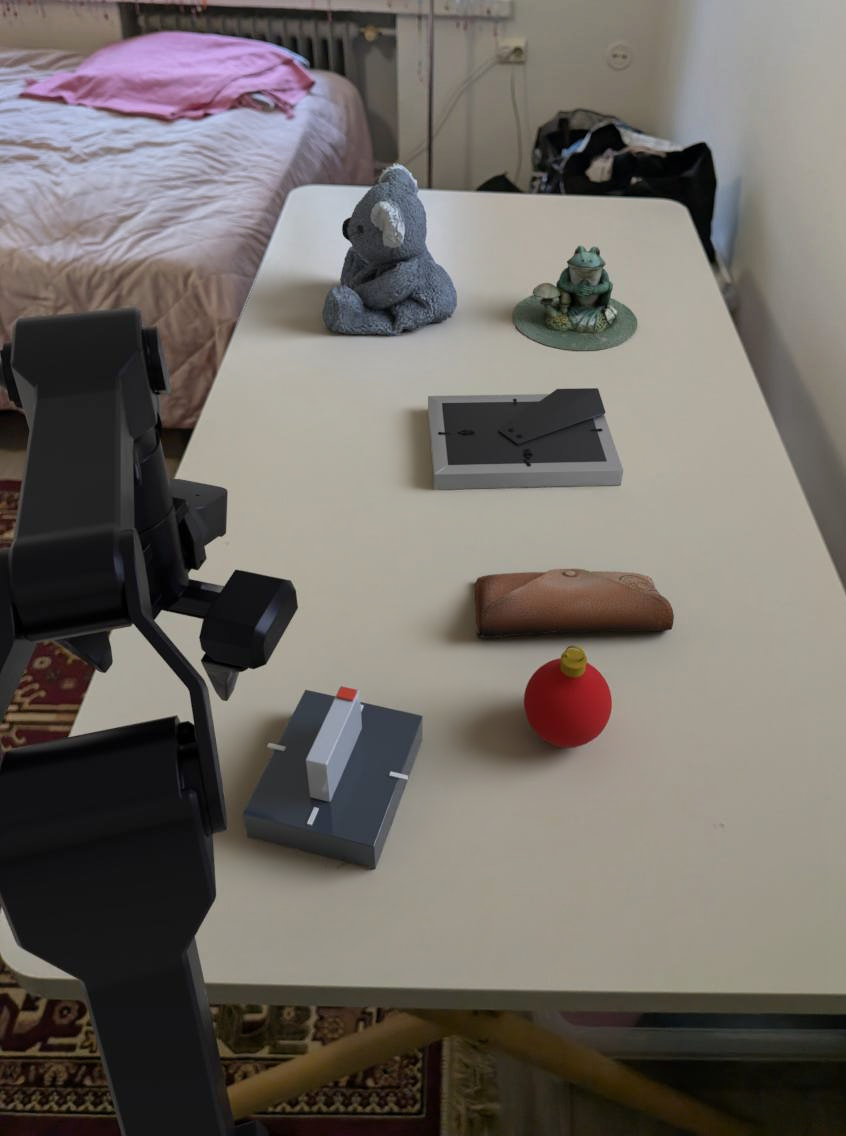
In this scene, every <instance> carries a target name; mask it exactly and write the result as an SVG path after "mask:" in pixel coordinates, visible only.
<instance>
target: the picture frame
mask: <svg viewBox="0 0 846 1136" xmlns="http://www.w3.org/2000/svg"><path fill="white" fill-rule="evenodd" d="M427 415H428V427H429V429H428V430H429V440H430V452H431V453H430V455H431V464H432V465H431V466H432V479H433V489H434V490H468V489H470V490H471V489H473V490H474V489H514V488H515V489H517V488H520V489H521V488H555V487H561V488H562V487H597V486H599V487H600V486H601V487H602V486H622V482H623V481H622V480H623V476H624V468H623V466H622V461H621V459H620V456H619V453H618V450H617V448H616V444H615V442H614V439H613V436H612V433H611V430H610V426H609V424H608V420H607V418H606V409H605V406H604V403H603V399H602V396H601V393H600V391H599V388H598V387H593V388H592V387H591V388H590V387H589V388H585V387H584V388H580V387H579V388H556V389H555V390H553V391H552V392H550V393H539V394H538V393H537V394H536V393H535V394H533V393H532V394H531V393H530V394H475V395H474V394H473V395H472V394H471V395H467V394H466V395H465V394H464V395H462V394H461V395H427Z"/></svg>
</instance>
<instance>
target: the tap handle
mask: <svg viewBox="0 0 846 1136" xmlns="http://www.w3.org/2000/svg"><path fill="white" fill-rule="evenodd" d="M335 696H336V697H335V699H334V701H333V703H332V705H331V707H330V709H329V711H328V714H327V716H326V718H325V720H324V722H323V724H322V726H321V728H320V731H319V733H318V735H317V737H316V739H315V741H314V743H313V745H312V747H311V750H310V752H309V754H308V756H307V758H306V767H307V775H308V783H309V791H310V797H311V798H315V799H319V800H323V801H327V802H330V801H331V799H332V797H333V795H334V792H335V790H336V788H337V785H338V783H339V781H340V778H341V776H342V774H343V771H344V769H345V767H346V764H347V762H348V760H349V757H350V755H351V753H352V750H353V748H354V746H355V743H356V741H357V739H358V736H359V734H360V732H361V729H362V720H361V703H360V702H361V691H360V690H358V689H355V688H350V687H346V686H340V687H339V688H338V691H337V692H336V695H335Z"/></svg>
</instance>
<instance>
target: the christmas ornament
mask: <svg viewBox="0 0 846 1136" xmlns="http://www.w3.org/2000/svg"><path fill="white" fill-rule="evenodd" d="M610 689H611V688H610V686H609V684H608V681H606V678H605V677H604V676H603V675H602V673H601V672H600V670H598V669H597V668H596V667H595V666H593V665H592V664H590V663H589V662H588V657H587V656H586V653H585V650H584V649H583V648H582V647H580V646H578V645H576V644H575V645H574V644H572V645H568V646H567V647H566V649H565V651H563V652H562V653H561V655H560V658H559V657H558V658H556V659H553V660H550V661H548V662H546V663H544V664H543V665H541V666H540V667H539V668H538V669H536V670H535V671H534V673H533V674H532V675H531V676H530V678H529V679H528V682H527V685H526V686H525V690H524V695H523V709H524V713H525V717H526V719H527V721H528V724H529V725H530V727H531V728H532V730H533V731H534V733H536V735H538V737H540V738H541V739H542V740H543V741H545V742H547V743H549V744H550V745H554V746H557V747H561V748H576V747H581V746H583V745H586V744H588V743H590V742H592V741H593V740H595V739H596V738H597V737H598V736H600V734H601V733H602V732H604V730H605V728H606V726H607V725H608V723H609V720H610V717H611V714H612V708H613V701H612V700H613V699H612V692H611V690H610Z"/></svg>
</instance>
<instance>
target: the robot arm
mask: <svg viewBox="0 0 846 1136" xmlns="http://www.w3.org/2000/svg"><path fill="white" fill-rule="evenodd" d="M0 389H2V390H3V391H4V392H6V393H7V396H8V400H9V402H12V403H13V404H14V406H15V408H17V409H18V410H19V409H20V410H23V412H24V415H25V419H26V423H27V426H28V429H29V432H28V438H27V443H26V444H27V445H26V451H25V459H24V465H23V471H22V477H21V478H22V479H21V484H20V490H19V491H20V492H19V498H18V505H17V512H16V518H15V525H14V530H13V531H14V532H13V538H12V543H11V545H10V547H4V548H0V727H1V726H2V723H3V721H4V718H5V717H6V714H7V712H8V710H9V708H10V705H11V703H12V701H13V699H14V696H15V695H16V692H17V690H18V687H19V685H20V683H21V681H22V679H23V677H24V674H25V672H26V670H27V667H28V666H29V663H30V662H31V658H32V656H33V654H34V652H35V650H36V645H37V644H39V643H45V642H52V641H53V642H55V643H57V645H60V646H61V647H63V648H64V649H66V650H67V651H69V652H70V653H72V654H73V655H74V656H76V657H77V658H79V659H80V660H82V661H83V662H85V663H86V664H87V665H88V666H90V667H92V668H93V669H95V670H96V671H98V672H99V673H102V674H106V673H107V672H108V671H109V669H110V668H111V667H112V665H113V662H114V659H113V652H112V646H111V641H110V638H109V634H108V632H109V631H114V630H119V629H125V628H130V627H132V626H133V625H134V627H135V628H136V629H137V630H138V632H139V633H140V634H141V635H142V636H143V638H144V639H145V640H146V641H147V642H148V643H149V644H150V645H151V647H152V648H153V649H154V650H155V651H156V653H157V654H158V655H159V657H161V659H162V660H163V661H164V663H165V664H167V666H168V667H169V668H170V669H171V670H172V672H173V673H174V674H175V675H176V676H177V678H178V679H179V680H180V681H181V683H182V684H183V685H184V686H185V687H186V688H187V690H188V693H189V699H190V704H191V705H190V707H191V713H192V719H193V723H192V722H190V721H189V720H185V721H181V720H180V717H179V716H178V715H171V716H167V717H166V716H165V717H162V718H157V719H156V718H155V719H151V720H147V721H142V722H137V723H131V724H126V725H122V726H117V727H112V728H107V729H102V730H97V731H92V732H88V733H83V734H78V735H73V736H68V737H62V738H57V739H53V740H48V741H47V740H46V741H42V742H38V743H33V744H28V745H24V746H17V747H12V748H11V749H8V750H7V751H5V754H4V756H3V748H2V739H1V737H0V906H1V909H2V911H3V914H4V916H5V919H6V922H7V925H8V926H9V929H10V932H11V934H12V936H13V939H14V941H15V943H16V945H17V946H18V947H19V948H20V949H21V950H23V951H25V952H27V953H29V954H31V955H32V956H34V957H36V958H38V959H39V960H41V961H43V962H45V963H47V964H49V965H51V966H53V967H54V968H56V969H58V970H60V971H62V972H64V973H65V974H67V975H69V976H71V977H73V978H75V979H77V980H78V981H79V985H80V987H81V990H82V994H83V998H84V1001H85V1004H86V1009H87V1012H88V1016H89V1018H90V1019H89V1020H90V1023H91V1028H92V1030H93V1035H94V1038H95V1041H96V1042H95V1043H96V1045H97V1048H98V1052H99V1057H100V1061H101V1065H102V1068H103V1071H104V1074H105V1075H104V1076H105V1078H106V1082H107V1085H108V1089H109V1090H108V1091H109V1093H110V1097H111V1101H112V1104H113V1108H114V1111H115V1116H116V1119H117V1122H118V1126H119V1130H120V1134H121V1136H270V1132H269V1129H268V1128H267V1127H266V1126H265V1124H263V1123H262V1122H261V1121H260V1120H259V1119H254V1120H251V1121H249V1122H246V1123H241V1124H239V1125H235V1121H234V1115H233V1111H232V1107H231V1101H230V1097H229V1093H228V1087H227V1083H226V1078H225V1074H224V1068H223V1064H222V1059H221V1054H220V1049H219V1044H218V1041H217V1035H216V1030H215V1026H214V1021H213V1017H212V1012H211V1007H210V1002H209V997H208V993H207V987H206V982H205V977H204V973H203V968H202V964H201V959H200V955H199V951H198V950H199V949H198V944H197V939H196V935H197V933H198V931H199V929H200V927H202V924H203V922H204V920H205V919H206V917H207V916H208V913H209V912H210V911H211V908H212V906H213V904H214V903H215V901H216V898H217V882H216V881H217V880H216V866H215V848H214V835H216V834H220V833H224V832H228V816H227V807H226V798H225V791H224V783H223V777H222V771H221V764H220V758H219V751H218V744H217V738H216V731H215V724H214V718H213V712H212V705H211V698H210V691H209V687H208V685H207V683H206V680H205V679H204V678H203V676H202V675H201V674H200V673H199V672H198V670H197V669H196V668H195V667H194V665H192V663H191V662H190V661H189V660H188V658H187V657H185V655H184V654H183V653H182V651H181V650H180V649H179V648H178V647H177V646H176V644H175V643H174V642H173V641H172V640H171V639H170V638H169V636H168V635H167V634H166V632H165V631H164V630H163V629H162V628H161V627H160V625H158V623H157V622H156V621H155V620H156V619H157V618H158V616H159V615H160V613H161V612H162V611H164V612H168V613H173V614H178V615H182V616H187V617H191V618H197V619H201V620H202V624H201V628H200V631H199V636H198V639H199V643H200V648H201V650H202V652H204V655H203V656H202V657H201V659H200V663H201V665H202V667H203V669H204V671H205V674H206V675H207V677H208V679H209V682H210V683H211V685H212V687H213V690H214V692H215V693H216V695H217V696H218V697H219V699H220V700H221V701H222V702H223V701H224V702H228V701H229V700H230V698H231V696H232V694H233V692H234V690H235V687H236V684H237V681H238V677H239V675H240V673H243V672H246V671H247V670H248V669H251V670H256V669H259V668H261V667H263V666H266V665H267V664H268V662H269V660H270V659H271V657H272V655H273V653H274V651H275V650H276V648H277V646H278V645H279V643H280V640H281V639H282V637H283V636H284V634H285V632H286V630H287V628H289V627H288V626H289V625H290V624H291V621H292V620H293V618H294V616H295V614H296V613H297V611H298V609H299V605H298V604H299V603H298V597H297V589H296V588H295V586H294V583H293V582H292V580H290V579H285V578H281V577H277V576H271V575H266V574H262V573H256V572H252V571H246V570H241V569H234V571H233V572H232V574H231V575H230V577H229V579H227V581H226V583H225V584H224V585H222V584H215V583H212V582H207V581H201V580H197V579H191V578H190V576H189V573H190V572H191V571H192V570H193V571H199V570H200V569H201V568H202V566H203V565H204V563H205V562H206V560H207V559H208V558H207V552H206V546H207V545H209V544H210V543H211V542H213V541H214V540H216V539H217V538H223V537H224V536H225V535H226V534H227V521H228V495H229V494H228V493H229V491H228V489H226V488H225V487H222V486H219V485H214V484H209V483H208V484H207V483H202V482H198V481H192V480H187V479H181V478H169V475H168V469H167V464H166V459H165V455H164V450H163V445H162V440H161V438H162V436H163V418H162V406H161V405H162V404H161V396H163V395H171V394H172V391H171V382H170V373H169V367H168V364H167V360H166V356H165V351H164V348H163V343H162V340H161V337H160V332H159V328H158V326H157V325H153V326H152V325H151V326H143V317H142V313H141V310H140V309H139V308H137V306H133V307H122V308H110V309H100V310H91V311H90V310H89V311H81V312H80V311H79V312H70V313H60V314H49V315H39V316H30V317H19V318H17V319H16V321H15V322H14V325H13V327H12V336H11V340H8V341H7V340H6V341H4V342H3V345H2V349H0Z"/></svg>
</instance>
